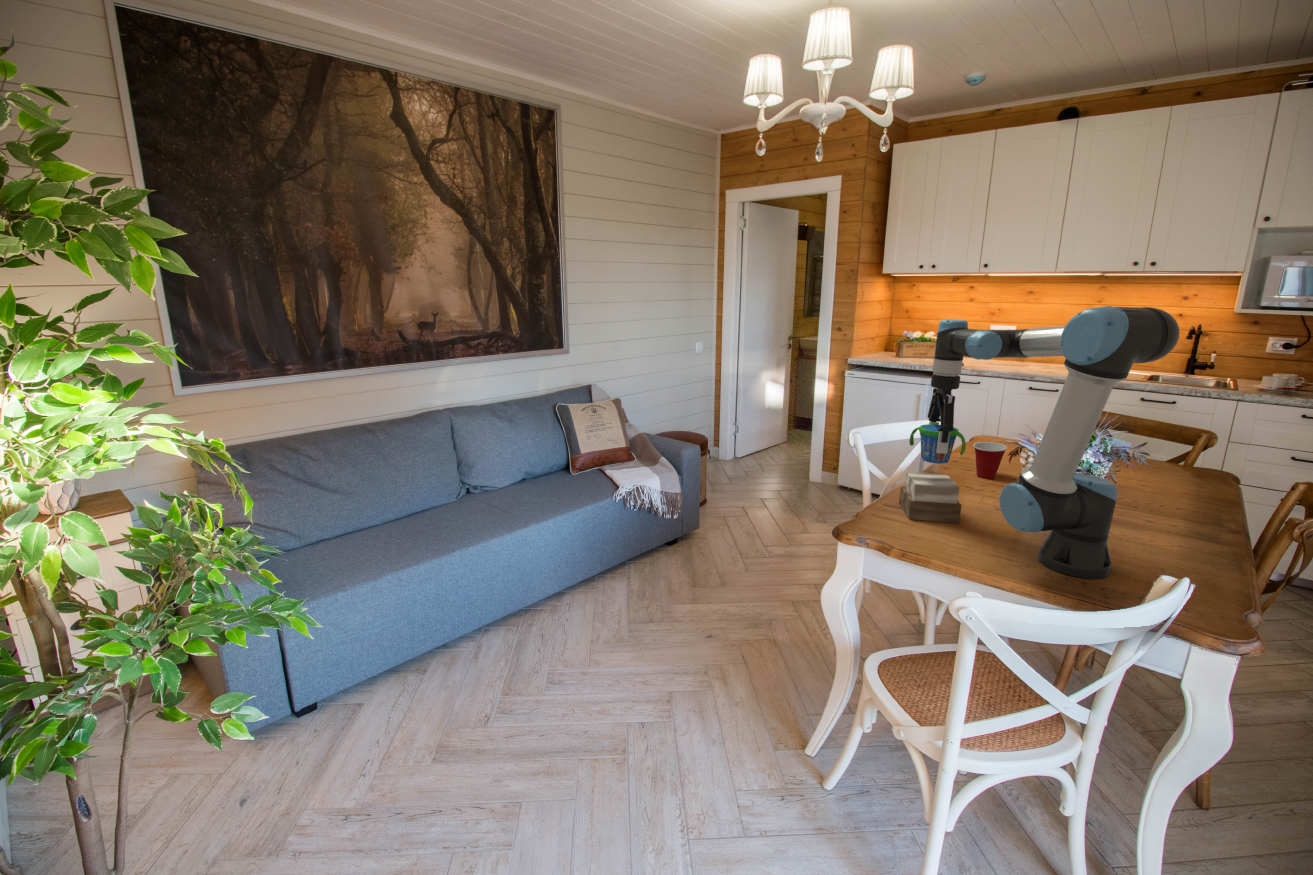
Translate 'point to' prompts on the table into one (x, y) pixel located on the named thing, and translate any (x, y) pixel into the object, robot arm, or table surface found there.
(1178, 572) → the table surface
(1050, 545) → the robot arm
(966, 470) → the table surface
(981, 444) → the plastic cup
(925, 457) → the snack cup
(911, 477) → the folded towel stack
